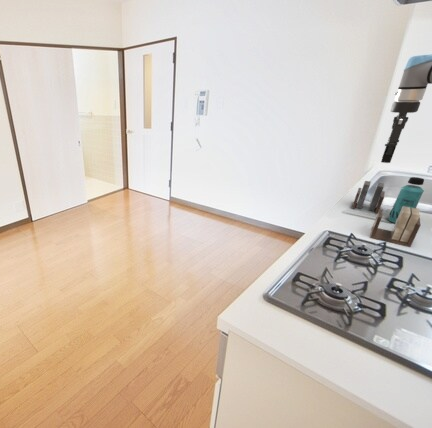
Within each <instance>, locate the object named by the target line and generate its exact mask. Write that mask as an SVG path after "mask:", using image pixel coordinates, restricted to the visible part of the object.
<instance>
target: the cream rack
mask: <svg viewBox="0 0 432 428" xmlns="http://www.w3.org/2000/svg"><path fill="white" fill-rule="evenodd" d="M383 211H384V209H383V208H380V209H379V211H378V214H376V216H375V219H374V222H373V224H372V226H371V231H370V236H369V238H370V239H373V240H378V241H382V242H387V243H391V244H396V245H399V246H404V247H409V248H412V244H413V243H414V240H415V238H416V236H417V234H418V232H419V230H420V227H421V224H422V223H421V218H420V216H421V212H420V208H418V207H416V208H411V210H410V207H405V206H403V207H402V209H401V211H400V214H399V216H398V218H397V221H396V223H394V225H393V227H392V230H389V229H385V228H381V227H380V228H379V226H380V224H381V221H382V218H383Z"/></svg>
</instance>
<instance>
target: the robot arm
mask: <svg viewBox="0 0 432 428" xmlns="http://www.w3.org/2000/svg"><path fill="white" fill-rule="evenodd" d="M431 84H432V54H422V55H421V54H420V55H419V54H418V55H413V56H411V57H409V59H408V60H407V63H406V64H405V67H404V69H403V72H402V76H401V79H400V82H399V85H398V89H397V91H395V92H394V93H393V95H395V97H394V102H392V105H391V107H390V112H391V113H398V114H397V115H396V116H394V117H393V120H392V125H391V132H390V134H389V137H388V139H387V142H386V143H385V144H384V151H383V154H382V156H381V161H380V162H381V163H382V162H386V163H385V164H390V163H391V161H392V159H393V156H394V153H395V151H396V149H397V146H398V143H400V137H401V133H402V131H403V130H404V129H405V127H406V124H407V122H408V121H409V117H408V116H407V115H408V114H413V113H417V112H418V111H419V108H420V106H421V101H422V100H423V98H424V96H425V93H426V90H427V87H428V85H431ZM390 136H391V137H390ZM389 139H390V140H389Z"/></svg>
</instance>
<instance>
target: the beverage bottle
mask: <svg viewBox="0 0 432 428" xmlns="http://www.w3.org/2000/svg"><path fill="white" fill-rule="evenodd" d="M424 182H425V179H424V178H422V177H416V176H411V177H409V179H408V181H407V183H408V184H406V185H403V186H402V187H400V190H399V193H398V195H397V197H396V199H395V202H394V203H393V205H392V208H391V210H390V212H389V215H388V221H389V222H392V223H394V224H395V223H396V221H397V218H398V216H399V214H400V211H401V209H402V207H403V206H405V207H410V210H411V208H418V204H419V203H420V200H421V198H422V195H423V193H425V190H424V189H423V188H422V187H421V186H423V185H424Z"/></svg>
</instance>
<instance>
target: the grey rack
mask: <svg viewBox="0 0 432 428" xmlns="http://www.w3.org/2000/svg"><path fill="white" fill-rule="evenodd" d="M371 183H372V182H371V181H369V180H365V181H364V183H363V186H362V187H358V189H357V191H356V194H355V196H354V197H355V198H354V201H353V203H352V207H351V210H355V209H356V210H362V209H363V206H364V204H365V201H366V198H367V195H368V192H369V189H370V186H371ZM384 187H385V183H383V182H377V184H376V186H375V189H374V192H373V195H372V197H371V200H370V203H369V206H368V210H367V211H368V212H373V213H374V214H376V215H377V214H378V211H379V209H381V207H382V204H383V202H384V199H385V193H386V192H385V191H384V190H383V189H384Z"/></svg>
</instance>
